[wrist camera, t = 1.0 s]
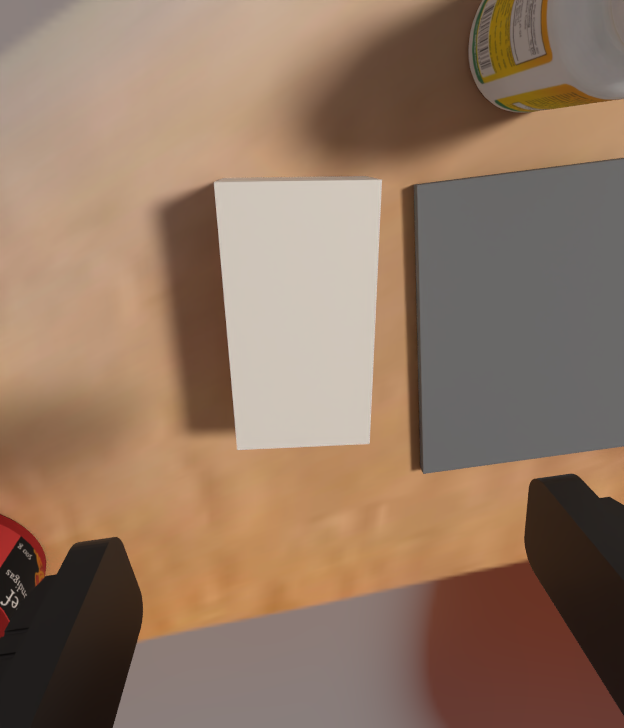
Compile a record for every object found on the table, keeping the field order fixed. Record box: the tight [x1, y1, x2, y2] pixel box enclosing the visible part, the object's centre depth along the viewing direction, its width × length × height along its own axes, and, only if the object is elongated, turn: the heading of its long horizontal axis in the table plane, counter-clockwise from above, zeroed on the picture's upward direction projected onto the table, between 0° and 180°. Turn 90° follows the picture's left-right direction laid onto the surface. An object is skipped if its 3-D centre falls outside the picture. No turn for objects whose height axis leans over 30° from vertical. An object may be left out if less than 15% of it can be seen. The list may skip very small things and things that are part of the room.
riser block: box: [214, 176, 382, 450], centre depth 22 cm, size 6×12×4 cm, turn 0°
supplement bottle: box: [468, 0, 624, 113], centre depth 15 cm, size 5×5×10 cm
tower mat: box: [414, 158, 624, 474], centre depth 25 cm, size 16×16×1 cm
